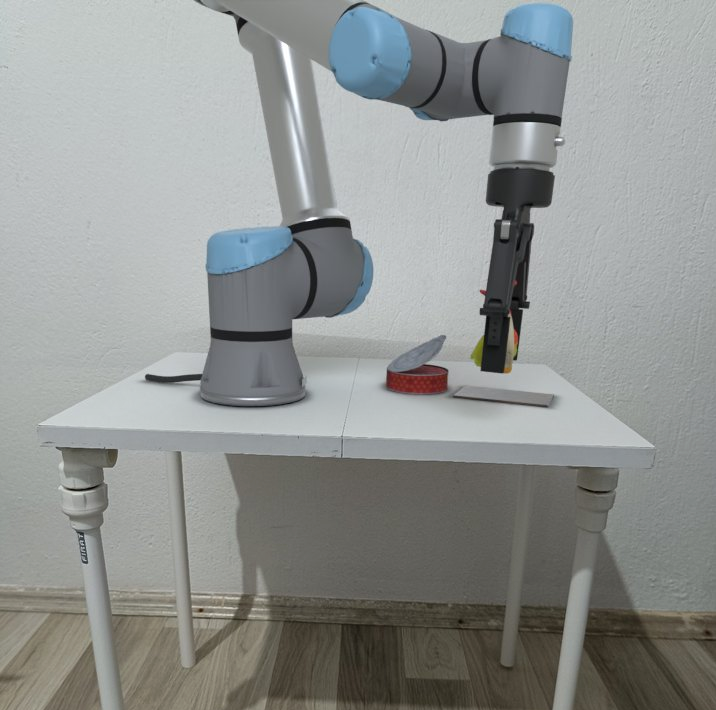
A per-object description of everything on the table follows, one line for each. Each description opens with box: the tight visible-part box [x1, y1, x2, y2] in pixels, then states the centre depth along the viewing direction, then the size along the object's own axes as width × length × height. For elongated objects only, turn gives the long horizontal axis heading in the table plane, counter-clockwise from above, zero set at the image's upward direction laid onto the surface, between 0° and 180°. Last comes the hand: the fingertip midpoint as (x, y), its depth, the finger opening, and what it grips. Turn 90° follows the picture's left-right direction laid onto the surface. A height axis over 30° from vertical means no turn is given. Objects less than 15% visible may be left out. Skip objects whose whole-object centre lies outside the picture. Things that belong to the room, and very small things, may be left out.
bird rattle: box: [469, 280, 518, 375], centre depth 82 cm, size 6×11×9 cm
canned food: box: [385, 334, 450, 395], centre depth 105 cm, size 11×10×10 cm
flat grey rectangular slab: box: [452, 385, 555, 408], centre depth 101 cm, size 14×8×1 cm, turn 68°
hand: (499, 365), depth 84 cm, fingers closed on bird rattle, 9 cm apart
